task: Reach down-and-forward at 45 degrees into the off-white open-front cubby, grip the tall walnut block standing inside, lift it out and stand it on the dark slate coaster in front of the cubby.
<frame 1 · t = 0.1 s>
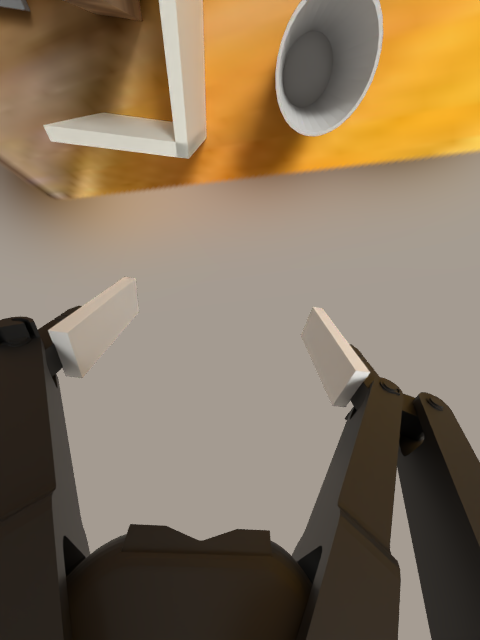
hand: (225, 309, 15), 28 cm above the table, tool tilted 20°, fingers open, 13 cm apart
coffee mug: (319, 61, 23), on the table
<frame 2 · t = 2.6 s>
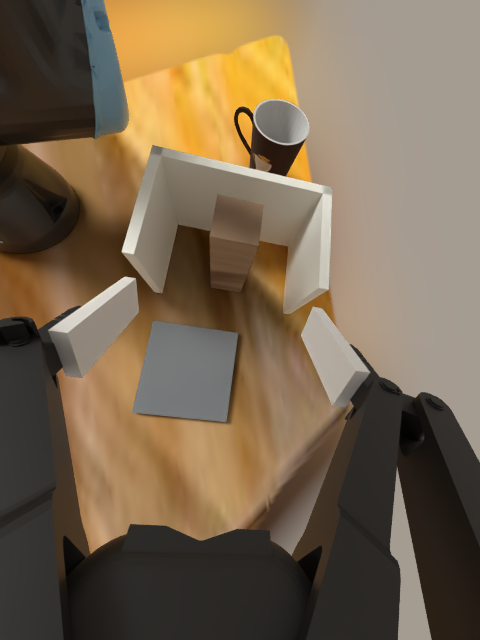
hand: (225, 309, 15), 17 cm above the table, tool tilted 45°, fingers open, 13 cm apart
coffee mug: (260, 175, 40), on the table
cubby: (229, 268, 34), on the table
walnut block: (227, 276, 34), on the table
coaster: (189, 369, 30), on the table
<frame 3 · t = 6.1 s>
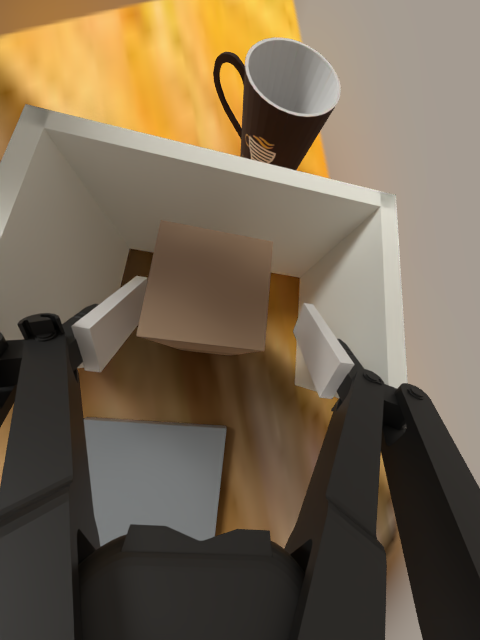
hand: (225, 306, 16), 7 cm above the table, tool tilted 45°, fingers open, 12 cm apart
coffee mug: (256, 170, 27), on the table
cubby: (212, 317, 22), on the table
walnut block: (209, 330, 22), on the table
coaster: (146, 498, 18), on the table
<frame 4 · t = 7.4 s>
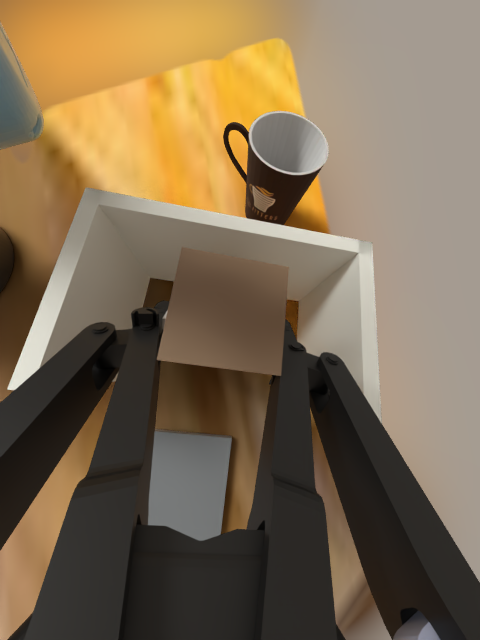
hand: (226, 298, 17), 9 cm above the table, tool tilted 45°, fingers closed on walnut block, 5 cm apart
coffee mug: (260, 206, 31), on the table
cubby: (220, 337, 25), on the table
walnut block: (218, 343, 22), point 3 cm above the table, touching gripper
coaster: (160, 500, 21), on the table
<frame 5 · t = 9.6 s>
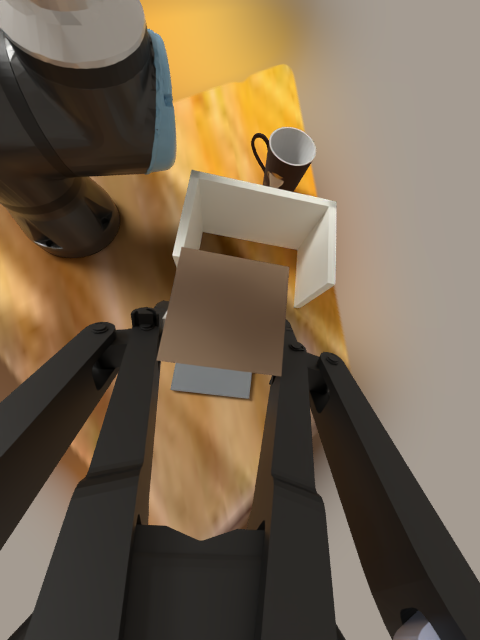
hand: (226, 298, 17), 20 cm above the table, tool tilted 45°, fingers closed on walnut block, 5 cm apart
coffee mug: (272, 188, 45), on the table
cubby: (247, 269, 40), on the table
walnut block: (218, 344, 22), point 14 cm above the table, touching gripper
coaster: (216, 355, 35), on the table
when the fingers open (7 cm above the table, at t = 12.2 s): walnut block stays where it is, resting on coaster.
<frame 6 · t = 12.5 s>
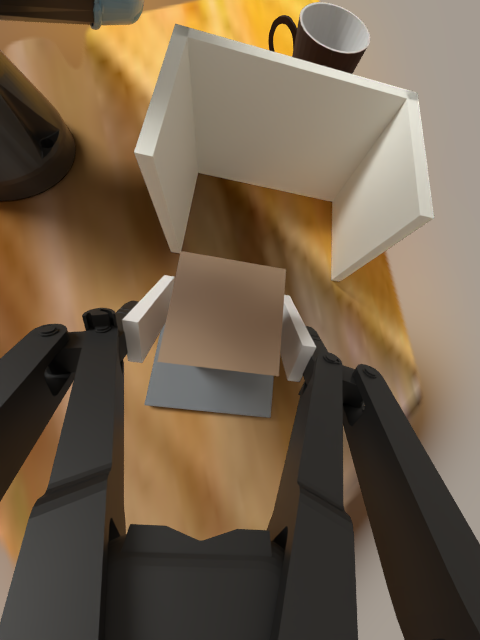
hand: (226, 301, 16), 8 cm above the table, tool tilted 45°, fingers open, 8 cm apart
coffee mug: (293, 122, 33), on the table
cubby: (263, 225, 28), on the table
walnut block: (219, 344, 22), point 1 cm above the table, touching coaster
coaster: (218, 349, 23), on the table
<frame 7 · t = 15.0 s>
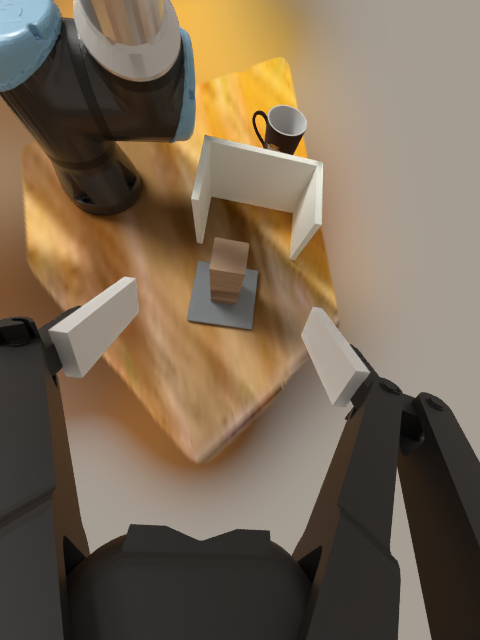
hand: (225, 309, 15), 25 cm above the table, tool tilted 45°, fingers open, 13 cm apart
coffee mug: (270, 162, 52), on the table
cubby: (249, 228, 47), on the table
walnut block: (224, 291, 42), point 1 cm above the table, touching coaster
coaster: (224, 295, 42), on the table
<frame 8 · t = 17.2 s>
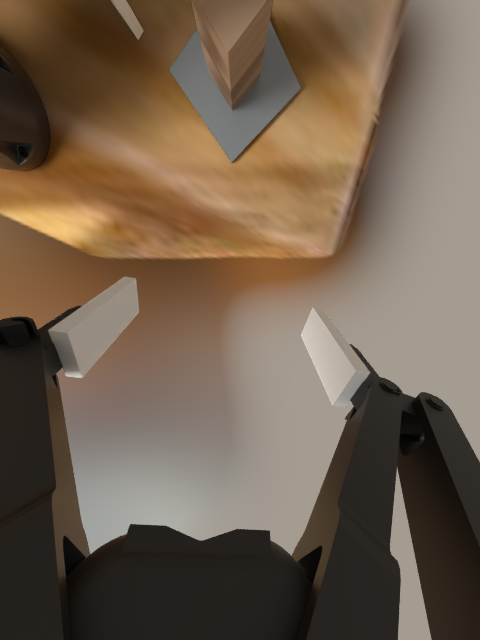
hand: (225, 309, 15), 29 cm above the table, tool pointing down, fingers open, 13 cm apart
walnut block: (233, 75, 28), point 1 cm above the table, touching coaster
coaster: (236, 81, 29), on the table
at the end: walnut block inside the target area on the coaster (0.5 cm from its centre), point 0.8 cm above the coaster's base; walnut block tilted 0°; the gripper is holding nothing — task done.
